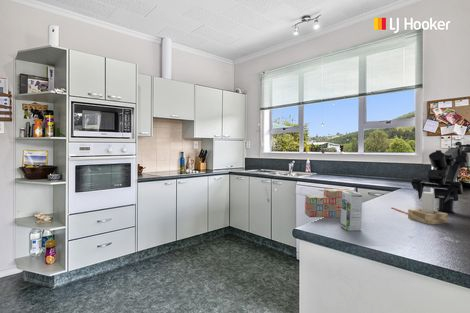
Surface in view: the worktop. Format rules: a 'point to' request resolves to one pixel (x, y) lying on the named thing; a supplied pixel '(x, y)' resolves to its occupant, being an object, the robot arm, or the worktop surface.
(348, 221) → the syrup box
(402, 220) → the worktop surface
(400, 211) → the red square stick
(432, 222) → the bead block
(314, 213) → the stack of blocks
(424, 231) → the worktop surface
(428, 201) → the white rectangular block
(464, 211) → the worktop surface
